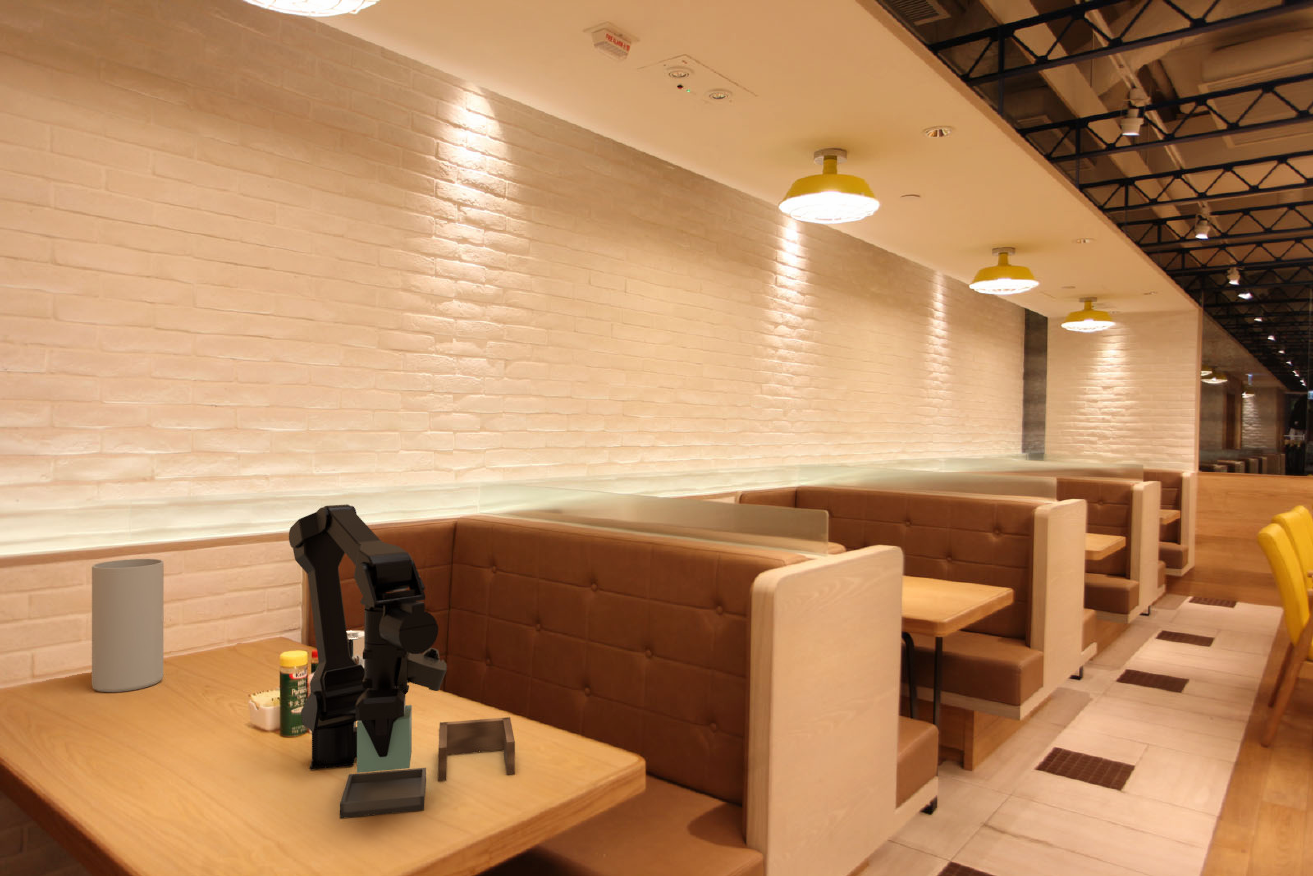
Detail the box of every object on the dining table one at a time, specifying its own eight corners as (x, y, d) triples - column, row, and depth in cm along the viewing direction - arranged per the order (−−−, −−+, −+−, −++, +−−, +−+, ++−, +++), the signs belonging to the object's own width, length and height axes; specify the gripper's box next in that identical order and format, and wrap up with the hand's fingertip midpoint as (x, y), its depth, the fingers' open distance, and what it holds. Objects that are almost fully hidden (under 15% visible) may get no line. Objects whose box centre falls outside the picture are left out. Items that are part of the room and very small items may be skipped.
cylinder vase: (139, 693, 165) (139, 568, 165) (77, 693, 165) (76, 568, 165) (176, 675, 178) (176, 559, 178) (118, 674, 178) (118, 558, 178)
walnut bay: (438, 781, 125) (438, 748, 125) (439, 753, 136) (439, 722, 136) (514, 774, 128) (514, 741, 128) (510, 747, 139) (510, 717, 139)
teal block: (356, 772, 115) (357, 722, 115) (361, 756, 121) (361, 708, 121) (409, 768, 117) (409, 718, 117) (411, 752, 123) (411, 705, 123)
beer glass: (357, 723, 150) (357, 640, 149) (322, 720, 151) (323, 638, 151) (377, 710, 156) (378, 631, 156) (344, 707, 158) (344, 629, 158)
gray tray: (339, 818, 113) (339, 804, 113) (348, 787, 122) (348, 774, 122) (423, 810, 115) (423, 796, 115) (426, 780, 125) (426, 767, 125)
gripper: (442, 653, 112) (442, 769, 112) (444, 622, 130) (443, 721, 130) (355, 658, 109) (354, 776, 109) (369, 625, 127) (369, 727, 127)
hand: (385, 748), depth 119 cm, fingers closed on teal block, 6 cm apart
